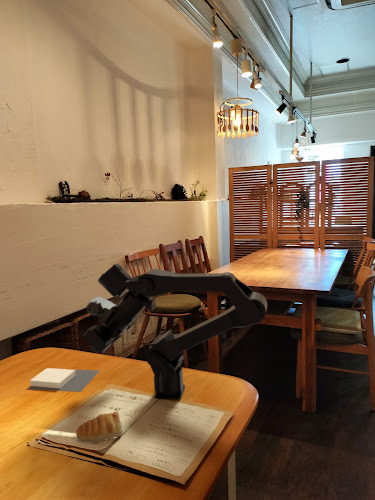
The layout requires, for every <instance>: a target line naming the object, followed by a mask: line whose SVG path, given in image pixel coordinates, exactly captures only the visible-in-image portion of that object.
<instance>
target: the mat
mask: <svg viewBox="0 0 375 500" xmlns="http://www.w3.org/2000/svg"><path fill="white" fill-rule="evenodd" d="M67 369H68V370H72V369H69V368H67ZM74 370H75V374H76V376H74V377H73V378H72V379H71V380H70V381H69V382H67V383H66V384H65V385H64V386H63V387H62V388H60V389H59V388H47V387H36V386H31V385H30V386H29V388H28V390H34V391H36V390H37V391H38V390H39V391H58V392H74V393H75V392H76V393H77V392H78V393H82V391H84V389H85V388H86V387H87V385H89V384H90V382H91V381H92V380H93V379H94V378H95V377H96V376H97V375H98V373H99V372H100V370H97V369H96V370H95V369H94V370H93V369H92V370H91V369H74Z"/></svg>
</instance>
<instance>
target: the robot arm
mask: <svg viewBox="0 0 375 500" xmlns="http://www.w3.org/2000/svg"><path fill="white" fill-rule="evenodd" d="M97 282H98V283H99V284H100V285H101V287H103V288H104V289H105V291H107V292H108V293H109V294H110V295H111V296H112V297H113V298H116V297H119V298H121V297H123V298H121V300H120V301H119V302H117V304H115V303H114V302H112V301H110V300H108V299H106V298H104V297H102V296H95V297H94V298H92V299H90V301H89V303H88V304H87V305H86V306H85V307H86V309H87V310H86V311H87V314H90V315H92V316H94V317H98V318H101V319H100V320H99V321H100V325H99V324H98V325H96V324H94V325H92V326H91V327H89V328H88V329H87V330H86V331H85V332H84V333H83V334H82V337H83V339H84V340H85V341H86V342H87V343H88V344H89V345H90V346H91V348H90V350H91V351H92V352H97V353H99V354H103V353H104V352H105V351H106V350H107V349H109V347H110V346H111V345H113V344H114V343H115V342H116V341H117V340H119V339H120V338H121V337H122V334H124V332H125V331H126V332H128V331H130V330H131V329H132V328H133V327H134V325H135V324H136V322H135V320H136V319H137V318H138V316H139V314H141V313H142V311H143V310H144V309H147V310H148V311H149V312H152V311H153V310H154V309H155V308H156V307H157V305H156V304H157V303H156V297H157V296H162V295H165V294H169V293H174V292H221V293H223V294H224V295H225V296H226V297H227V299H228V300H229V302H230V303H231V304H232V306H231V307H230V308H229V309H227V310H225V311H223V312H221V313H220V314H217V315H215V316H212V317H211V318H209V319H207V320H205V321H203V322H200V323H199V324H197V325H194V326H192V327H190V328H188V329H186V330H184V331H183V332H180V333H173V331H172V329H169V330H168V331H166V333H163V334H158V335H157V336H156V338H155V339H154V340H153V341H152V342H151V343H150V344H149V347H148V348H147V350H146V351H145V360H146V362H147V364H148V365H149V366H150V369H151V370H152V374H153V386H154V392H155V395H154V398H155V399H162V400H163V399H164V400H181V399H182V397H183V394H184V391H185V389H186V385H185V384H184V375H183V374H184V373H183V366H181V365H182V364H183V363H184V359H185V355H184V354H183V353H184V352H185V351H187V350H189V349H191V348H193V347H196V346H197V345H200V344H202V343H204V342H205V341H209V340H210V339H213V338H215V337H216V336H218V335H221V334H223V333H226V332H227V331H229V330H231V329H235V328H236V329H237V328H246V327H250V326H252V325H257V324H260V323H261V322H263V320H265V318H266V314H267V310H268V302H267V301H268V300H267V299H266V297H265V296H264V294H262V293H260V292H257V291H254V290H253V289H252V288H251V287H250V286H248V285H247V284H245V283H244V282H243V281H242V280H240V279H238V277H237V276H235V275H234V273H232V272H229V271H228V272H227V271H226V272H223V273H221V272H217V273H215V272H213V273H212V272H211V273H210V272H209V273H208V272H207V273H176V272H175V273H174V272H171V271H168V270H163V269H157V268H154V269H150V270H148V271H146V272H144V273H142V274H141V275H140V274H139V275H135V276H133V277H132V276H131V275H130V274H129V273H128V272H127V271H125V270H124V269H123V267H122V266H121V265H120V264H119V262H117V263H114V264H113V265H111V267H110V268H108V269H107V270H106V271H105V272H104V273H102V274H101V276H100V277H99V278H98V280H97Z"/></svg>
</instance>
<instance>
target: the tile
mask: <svg viewBox="0 0 375 500" xmlns="http://www.w3.org/2000/svg"><path fill="white" fill-rule="evenodd" d="M68 369H69V368H67V369H66V368H65V369H64V368H50V367H46V368H45V369H44V370H43V371H41V372H40V373H38V374H37V375H35V376H34V377H32V378H31V379H30V380H29V382H30V387H31V386H36V387H47V388H59V389H60V388H62V387H63V386H64V385H65V384H66V383H67V382H69V381H70V380H71V379H72V378H73V377H74V376H76V374H75V370H76V369H71V370H68Z"/></svg>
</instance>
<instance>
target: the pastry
mask: <svg viewBox="0 0 375 500" xmlns="http://www.w3.org/2000/svg"><path fill="white" fill-rule="evenodd" d="M122 434H123V426H122V422H121V419H120V413H119V412H118V411H113V412H109V413H99V414H98V415H97V416H96V417H94V418H92V419H90V420H87V421H86V422H84V423H82V424H80V425H79V426H78V427H77V430H76V433H75V435H76V439H78V440H79V441H80V442H84V441H87V442H92V441H99V442H102V441H101V440H104V441H106V440H105V439H110V440H112V439H111V438H114V437H117V438H119V436H120V437H122ZM114 439H115V438H114Z"/></svg>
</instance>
